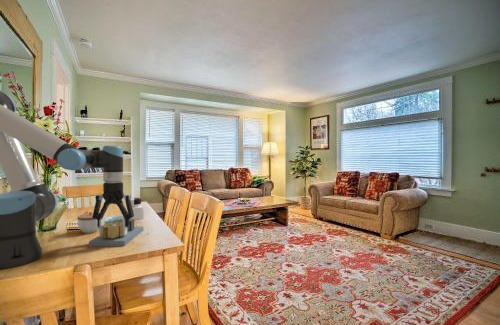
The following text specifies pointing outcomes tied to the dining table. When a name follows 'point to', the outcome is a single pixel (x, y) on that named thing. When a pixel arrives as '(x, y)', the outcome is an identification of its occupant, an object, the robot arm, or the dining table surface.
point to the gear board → (116, 238)
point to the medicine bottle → (137, 209)
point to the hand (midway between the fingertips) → (113, 234)
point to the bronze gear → (112, 230)
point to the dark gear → (131, 224)
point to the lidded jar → (87, 223)
